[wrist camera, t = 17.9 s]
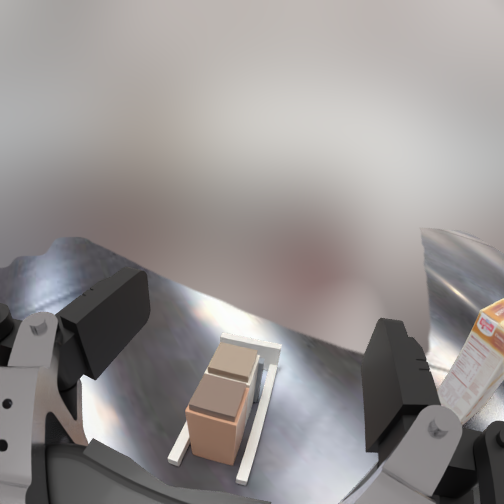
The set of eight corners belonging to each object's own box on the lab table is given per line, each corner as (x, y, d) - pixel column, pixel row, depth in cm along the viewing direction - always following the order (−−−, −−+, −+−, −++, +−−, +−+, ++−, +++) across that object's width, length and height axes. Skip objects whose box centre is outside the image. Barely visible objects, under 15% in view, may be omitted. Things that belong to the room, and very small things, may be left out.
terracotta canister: (233, 465, 26) (237, 420, 22) (192, 454, 27) (184, 405, 23) (243, 434, 30) (250, 382, 26) (205, 425, 31) (202, 370, 27)
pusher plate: (256, 402, 36) (263, 364, 32) (215, 392, 37) (215, 353, 34) (262, 383, 39) (268, 343, 36) (223, 374, 40) (225, 334, 37)
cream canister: (243, 432, 31) (250, 379, 27) (206, 422, 32) (203, 367, 28) (252, 405, 35) (260, 349, 31) (218, 396, 36) (219, 339, 32)
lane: (246, 485, 23) (249, 470, 22) (169, 463, 25) (162, 445, 23) (277, 367, 43) (281, 344, 41) (222, 355, 45) (222, 332, 43)
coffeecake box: (466, 381, 37) (513, 290, 30) (487, 403, 31) (543, 311, 23) (418, 412, 33) (479, 307, 25) (443, 441, 26) (518, 337, 19)
